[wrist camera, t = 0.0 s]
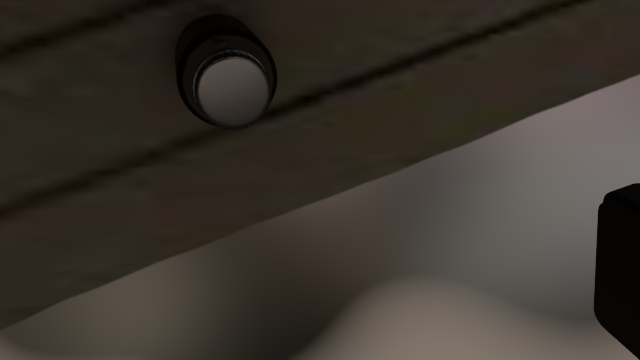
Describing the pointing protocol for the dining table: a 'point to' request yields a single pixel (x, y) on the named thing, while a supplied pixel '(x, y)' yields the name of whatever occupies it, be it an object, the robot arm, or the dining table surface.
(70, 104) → the dining table surface
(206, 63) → the supplement bottle
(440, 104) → the dining table surface
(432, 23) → the dining table surface
